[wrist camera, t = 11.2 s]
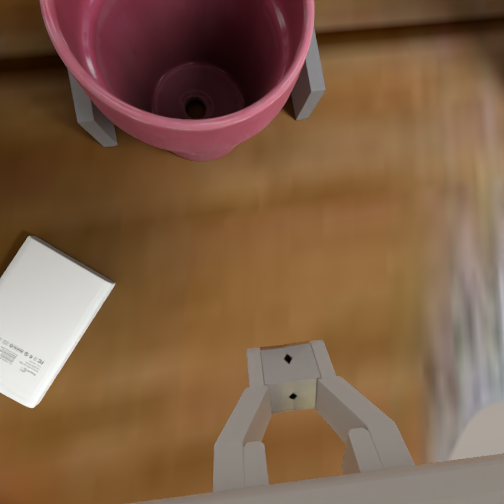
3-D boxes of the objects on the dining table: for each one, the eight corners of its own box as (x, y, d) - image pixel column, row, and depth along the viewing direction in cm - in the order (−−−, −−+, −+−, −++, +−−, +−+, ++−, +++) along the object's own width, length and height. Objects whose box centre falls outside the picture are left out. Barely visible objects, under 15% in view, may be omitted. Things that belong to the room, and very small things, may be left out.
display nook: (281, -23, 29) (294, -81, 24) (307, 118, 29) (325, 89, 24) (76, -4, 27) (42, -63, 22) (104, 147, 27) (77, 122, 22)
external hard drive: (118, 282, 27) (42, 401, 27) (38, 236, 27) (-43, 356, 26) (111, 284, 26) (30, 410, 25) (26, 234, 25) (-60, 362, 24)
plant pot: (284, 57, 29) (333, -101, 16) (264, 199, 28) (298, 151, 16) (134, 25, 27) (58, -175, 15) (111, 174, 27) (12, 100, 14)
